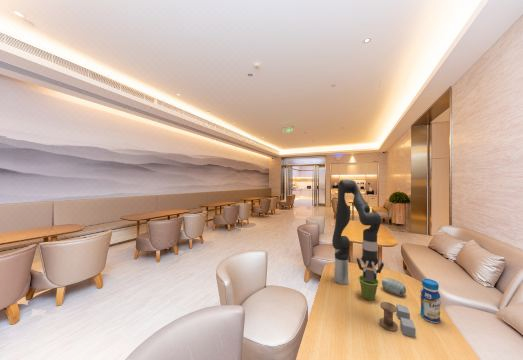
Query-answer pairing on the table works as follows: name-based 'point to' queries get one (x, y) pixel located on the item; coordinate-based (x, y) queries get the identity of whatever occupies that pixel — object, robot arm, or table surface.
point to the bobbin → (388, 316)
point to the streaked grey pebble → (394, 286)
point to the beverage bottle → (430, 301)
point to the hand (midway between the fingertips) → (369, 278)
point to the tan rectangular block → (370, 273)
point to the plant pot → (368, 287)
